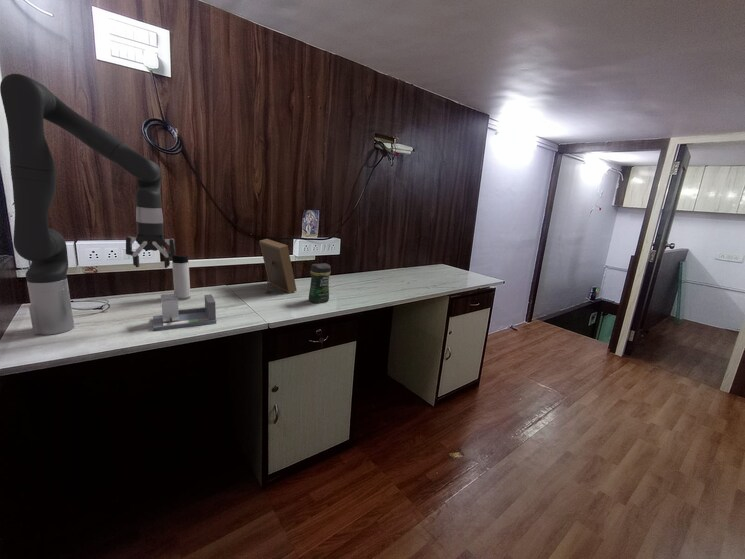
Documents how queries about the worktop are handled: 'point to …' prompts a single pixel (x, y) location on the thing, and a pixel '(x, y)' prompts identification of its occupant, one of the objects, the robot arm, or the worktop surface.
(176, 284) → the travel mug
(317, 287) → the coffee jar
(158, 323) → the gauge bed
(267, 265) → the photo frame
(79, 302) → the worktop surface
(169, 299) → the carriage
